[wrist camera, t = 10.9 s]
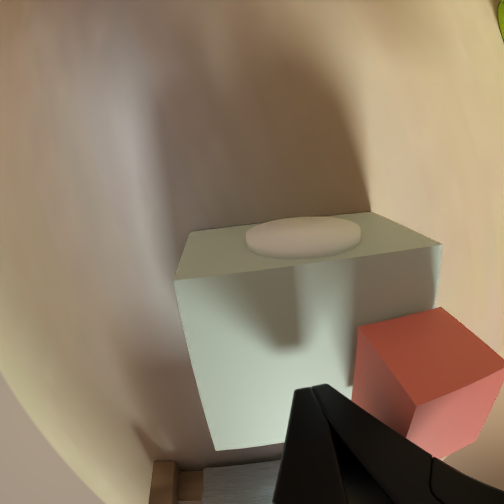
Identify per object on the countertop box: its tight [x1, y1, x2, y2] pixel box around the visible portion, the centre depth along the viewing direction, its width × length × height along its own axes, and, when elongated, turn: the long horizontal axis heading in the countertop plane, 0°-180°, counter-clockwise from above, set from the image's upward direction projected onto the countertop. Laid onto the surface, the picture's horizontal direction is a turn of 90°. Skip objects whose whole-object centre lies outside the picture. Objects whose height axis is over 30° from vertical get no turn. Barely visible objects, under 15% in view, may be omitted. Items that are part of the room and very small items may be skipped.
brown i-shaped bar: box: [149, 461, 204, 504], centre depth 14 cm, size 15×5×3 cm, turn 95°
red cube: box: [351, 307, 504, 459], centre depth 7 cm, size 3×3×3 cm
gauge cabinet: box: [173, 212, 442, 451], centre depth 10 cm, size 6×7×4 cm
